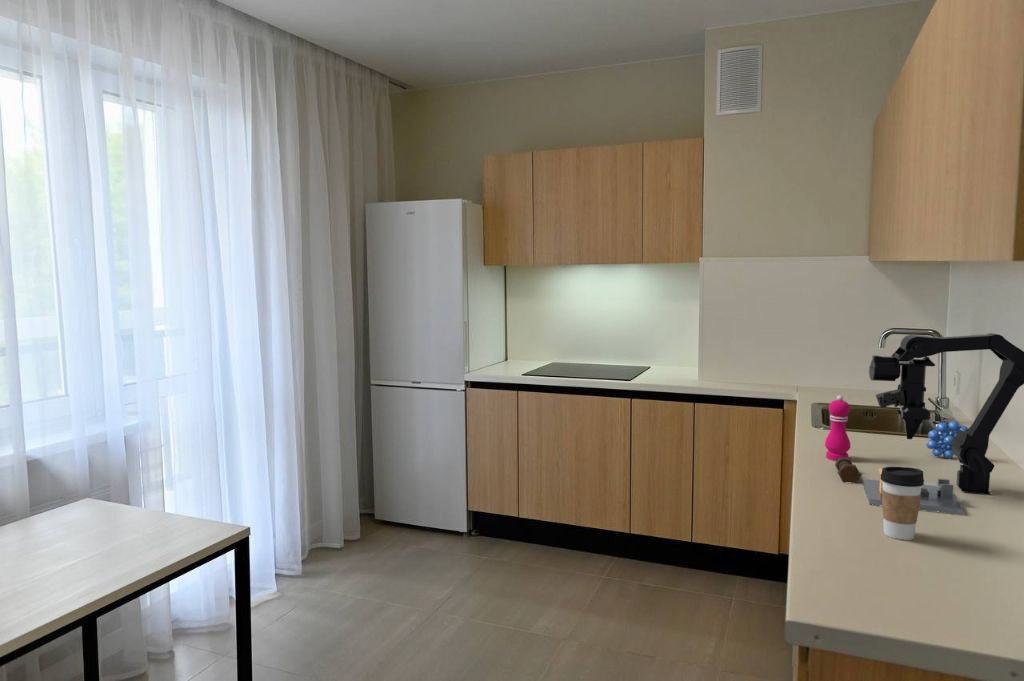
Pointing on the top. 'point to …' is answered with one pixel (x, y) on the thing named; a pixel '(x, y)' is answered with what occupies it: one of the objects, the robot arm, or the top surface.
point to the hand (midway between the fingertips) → (909, 438)
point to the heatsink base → (929, 497)
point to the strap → (932, 486)
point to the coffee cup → (901, 500)
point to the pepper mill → (838, 430)
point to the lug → (880, 481)
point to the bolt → (847, 470)
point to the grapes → (943, 438)
